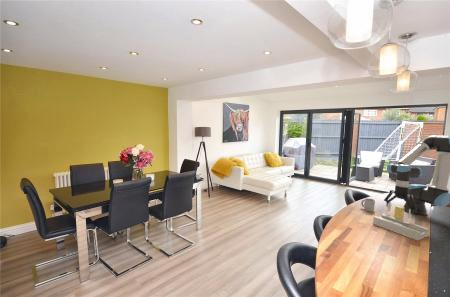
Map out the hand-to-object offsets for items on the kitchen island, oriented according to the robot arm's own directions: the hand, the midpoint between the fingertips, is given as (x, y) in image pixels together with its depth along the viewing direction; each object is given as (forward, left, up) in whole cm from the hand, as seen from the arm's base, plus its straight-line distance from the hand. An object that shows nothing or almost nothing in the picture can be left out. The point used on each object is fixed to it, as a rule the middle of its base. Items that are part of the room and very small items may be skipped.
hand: (398, 214), depth 163 cm
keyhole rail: (+12, +6, -6) cm, 15 cm away
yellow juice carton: (0, 0, -6) cm, 6 cm away
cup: (-6, -26, -7) cm, 27 cm away
